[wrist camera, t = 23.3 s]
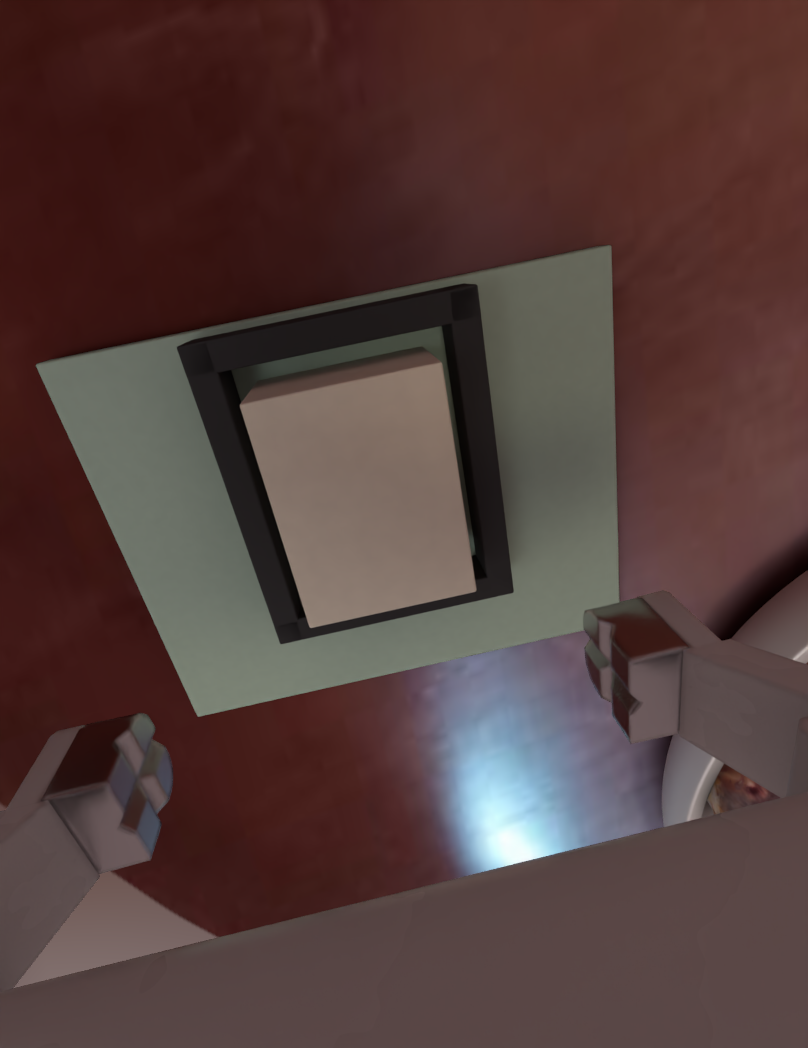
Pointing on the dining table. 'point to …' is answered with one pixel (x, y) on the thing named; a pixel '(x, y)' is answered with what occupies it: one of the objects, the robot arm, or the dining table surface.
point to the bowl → (700, 779)
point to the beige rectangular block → (363, 483)
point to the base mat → (245, 511)
